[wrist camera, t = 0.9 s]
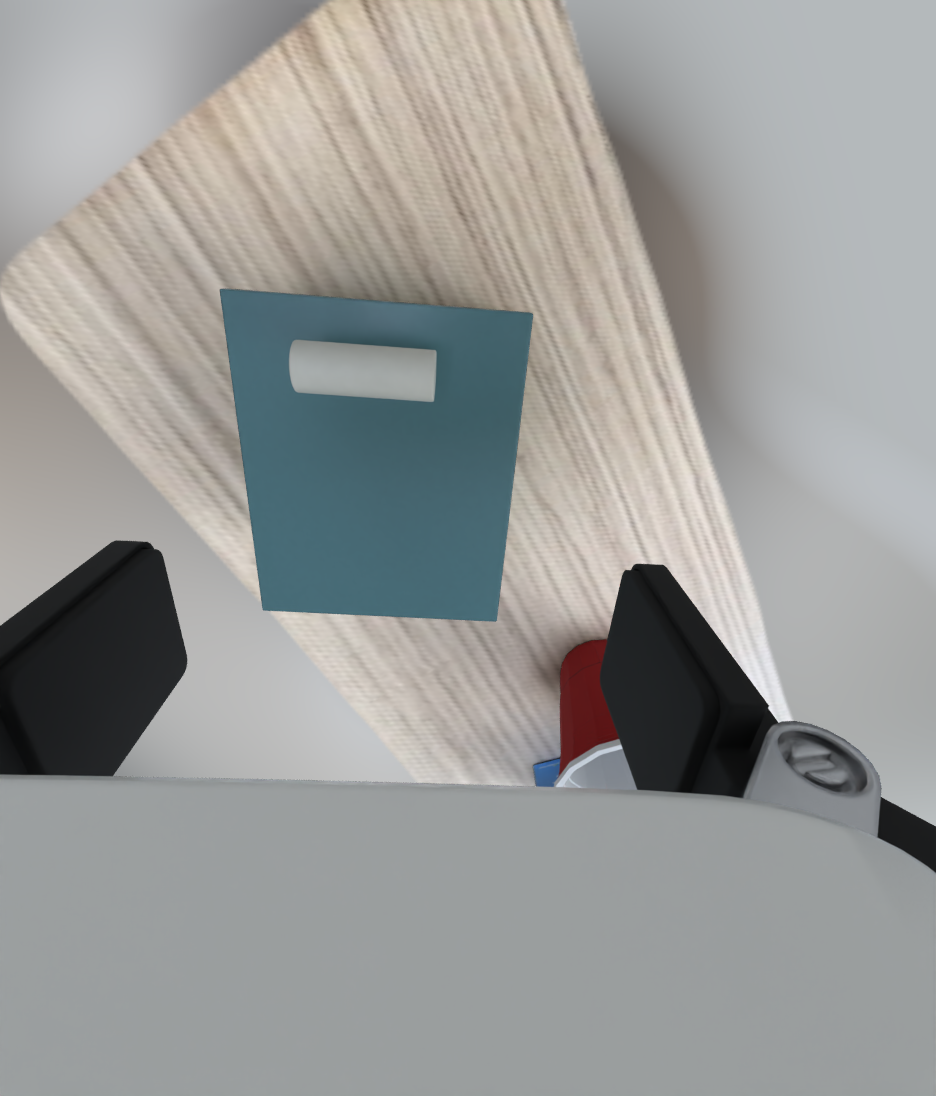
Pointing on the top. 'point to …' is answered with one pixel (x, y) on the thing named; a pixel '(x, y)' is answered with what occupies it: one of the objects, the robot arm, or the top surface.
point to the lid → (377, 450)
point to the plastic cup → (588, 726)
